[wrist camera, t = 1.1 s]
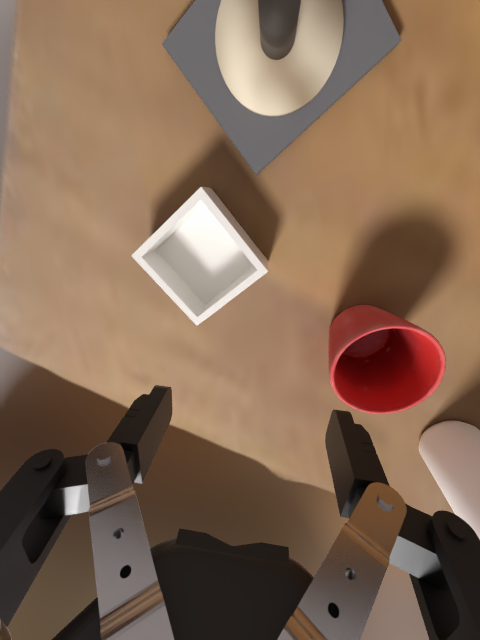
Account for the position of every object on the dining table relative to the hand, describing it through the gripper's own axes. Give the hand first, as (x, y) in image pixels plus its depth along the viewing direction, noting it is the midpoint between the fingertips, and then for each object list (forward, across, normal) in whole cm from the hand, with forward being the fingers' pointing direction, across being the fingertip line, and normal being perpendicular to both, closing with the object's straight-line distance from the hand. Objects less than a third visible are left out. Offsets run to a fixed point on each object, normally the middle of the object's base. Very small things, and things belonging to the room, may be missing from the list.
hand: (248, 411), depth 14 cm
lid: (+22, +1, -22) cm, 31 cm away
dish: (+23, +7, -2) cm, 25 cm away
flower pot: (+24, -13, +6) cm, 28 cm away
